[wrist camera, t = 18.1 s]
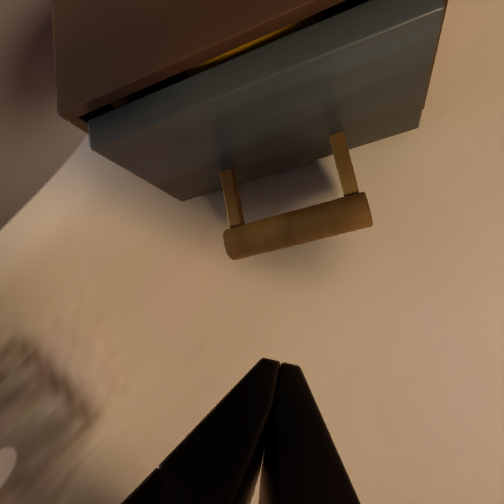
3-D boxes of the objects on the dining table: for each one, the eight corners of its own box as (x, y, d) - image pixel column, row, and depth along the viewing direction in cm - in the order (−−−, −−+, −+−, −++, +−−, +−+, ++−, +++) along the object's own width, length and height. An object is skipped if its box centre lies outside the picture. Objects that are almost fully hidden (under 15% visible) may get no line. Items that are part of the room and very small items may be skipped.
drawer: (446, 216, 14) (498, 145, 8) (191, 278, 18) (96, 259, 12) (348, -96, 18) (334, -298, 12) (155, 3, 22) (69, -116, 16)
